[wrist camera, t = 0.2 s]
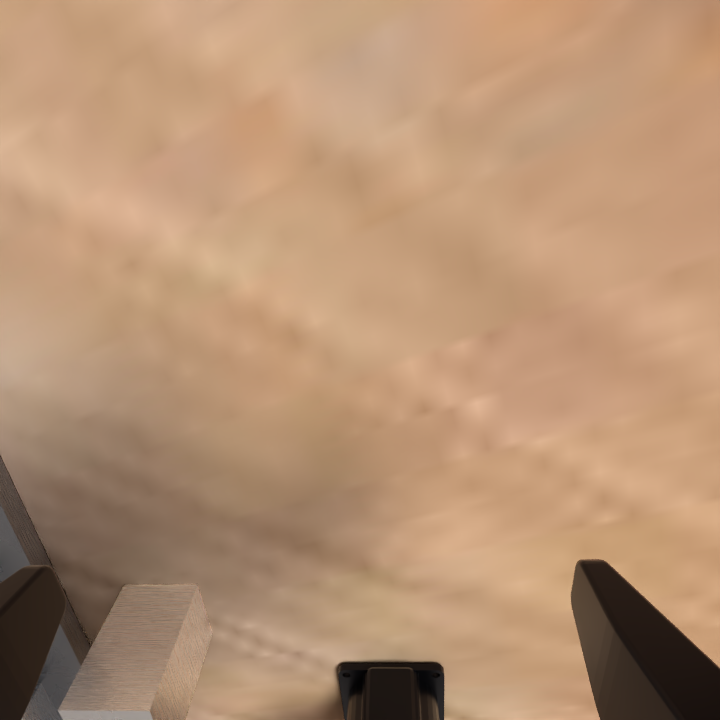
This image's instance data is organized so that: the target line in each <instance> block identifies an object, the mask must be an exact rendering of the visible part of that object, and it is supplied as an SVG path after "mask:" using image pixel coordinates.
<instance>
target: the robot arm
mask: <svg viewBox="0 0 720 720" xmlns="http://www.w3.org/2000/svg"><path fill="white" fill-rule="evenodd" d="M571 604H572V610H573V614H574V618H575V622H576V626H577V631H578V635H579V639H580V643H581V647H582V651H583V655H584V659H585V663H586V668H587V672H588V676H589V680H590V684H591V688H592V692H593V696H594V700H595V704H596V707H597V710H598V714H599V717H600V720H720V668H719V667H718V666H717V665H716V664H715V663H714V662H713V661H712V660H711V659H710V658H709V657H708V656H707V655H705V654H704V653H703V652H702V651H701V650H700V649H699V648H698V647H697V646H696V645H695V644H694V643H693V642H692V641H691V640H689V639H688V638H687V637H686V636H685V635H684V634H683V633H682V632H681V631H680V630H679V629H678V628H677V627H676V626H675V625H673V624H672V623H671V622H670V621H669V620H668V619H667V618H666V617H665V616H664V615H663V614H662V613H661V612H660V611H658V610H657V609H656V608H655V607H654V606H653V605H652V604H651V603H650V602H649V601H648V600H647V599H646V598H645V597H644V596H642V595H641V594H640V593H639V592H638V591H637V590H636V589H635V588H634V587H633V586H632V585H631V584H630V583H629V582H627V581H626V580H625V579H624V578H623V577H622V576H621V575H620V574H619V573H618V572H617V571H616V570H615V569H614V568H613V567H611V566H610V565H609V564H608V563H607V562H605V561H604V560H599V559H591V560H579V561H578V562H577V564H576V567H575V573H574V579H573V585H572V591H571ZM65 608H66V596H65V594H64V591H63V589H62V587H61V585H60V583H59V580H58V578H57V576H56V574H55V572H54V570H53V568H51V567H50V566H48V565H29V566H25V567H23V568H21V569H20V570H18V571H17V572H15V573H14V574H12V575H11V576H9V577H8V578H7V579H5V580H4V581H2V582H1V583H0V720H21V719H22V717H23V715H24V713H25V711H26V709H27V706H28V704H29V702H30V700H31V697H32V695H33V692H34V690H35V688H36V685H37V682H38V680H39V677H40V675H41V672H42V669H43V667H44V664H45V662H46V659H47V656H48V654H49V651H50V648H51V646H52V643H53V641H54V638H55V635H56V633H57V630H58V628H59V625H60V622H61V620H62V617H63V615H64V612H65ZM338 676H339V683H340V690H341V697H342V704H343V711H344V718H345V720H444V669H443V667H442V666H441V665H439V664H342V665H340V667H339V674H338Z"/></svg>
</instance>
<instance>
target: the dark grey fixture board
mask: <svg viewBox="0 0 720 720" xmlns="http://www.w3.org/2000/svg"><path fill="white" fill-rule="evenodd" d="M29 565H48V566H50V567H51V568H53V567H52V565H51V563H50V561H49V559H48V556H47V554H46V552H45V550H44V548H43V546H42V544H41V542H40V539H39V537H38V535H37V533H36V531H35V529H34V527H33V525H32V522H31V520H30V518H29V516H28V514H27V512H26V510H25V508H24V506H23V503H22V501H21V499H20V497H19V495H18V493H17V491H16V489H15V486H14V484H13V482H12V480H11V478H10V476H9V474H8V472H7V469H6V467H5V465H4V463H3V461H2V459H1V457H0V583H1V582H2V581H4V580H5V579H7V578H8V577H9V576H11V575H12V574H14V573H15V572H17V571H18V570H20V569H21V568H23V567H25V566H29ZM53 570H54V569H53ZM54 572H55V571H54ZM55 574H56V573H55ZM59 583H60V582H59ZM60 585H61V584H60ZM61 587H62V586H61ZM62 589H63V588H62ZM63 591H64V590H63ZM64 594H65V593H64ZM65 596H66V595H65ZM89 650H90V646H89V643H88V641H87V639H86V637H85V635H84V633H83V631H82V629H81V626H80V624H79V622H78V620H77V618H76V616H75V614H74V612H73V610H72V607H71V605H70V603H69V601H68V599H67V597H66V608H65V612H64V615H63V617H62V620H61V622H60V625H59V628H58V630H57V633H56V635H55V638H54V641H53V643H52V646H51V648H50V651H49V654H48V656H47V659H46V662H45V664H44V667H43V669H42V672H41V675H40V677H39V680H38V682H37V685H36V688H35V690H34V692H33V695H32V697H31V700H30V702H29V704H28V706H27V709H26V711H25V713H24V715H23V717H22V719H21V720H63V719H62V717H61V715H60V713H59V712H58V709H59V707H60V705H61V703H62V701H63V700H64V698H65V696H66V694H67V692H68V690H69V688H70V686H71V684H72V683H73V681H74V679H75V677H76V675H77V673H78V671H79V669H80V667H81V665H82V664H83V662H84V660H85V658H86V656H87V654H88V652H89Z"/></svg>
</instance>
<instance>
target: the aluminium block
mask: <svg viewBox="0 0 720 720" xmlns="http://www.w3.org/2000/svg"><path fill="white" fill-rule="evenodd" d="M212 634H213V633H212V629H211V626H210V623H209V619H208V616H207V613H206V609H205V606H204V603H203V599H202V596H201V593H200V589H199V586H198V584H132V585H124V586H123V588H122V590H121V592H120V593H119V595H118V597H117V599H116V601H115V603H114V605H113V607H112V609H111V611H110V612H109V614H108V616H107V618H106V620H105V622H104V624H103V626H102V628H101V629H100V631H99V633H98V635H97V637H96V639H95V641H94V643H93V645H92V647H91V648H90V650H89V652H88V654H87V656H86V658H85V660H84V662H83V664H82V665H81V667H80V669H79V671H78V673H77V675H76V677H75V679H74V681H73V683H72V684H71V686H70V688H69V690H68V692H67V694H66V696H65V698H64V700H63V701H62V703H61V705H60V707H59V709H58V712H59V713H60V715H61V717H62V719H63V720H185V719H186V716H187V713H188V710H189V707H190V704H191V700H192V697H193V694H194V691H195V688H196V685H197V682H198V678H199V675H200V672H201V669H202V666H203V663H204V660H205V656H206V653H207V650H208V647H209V644H210V641H211V638H212Z"/></svg>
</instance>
